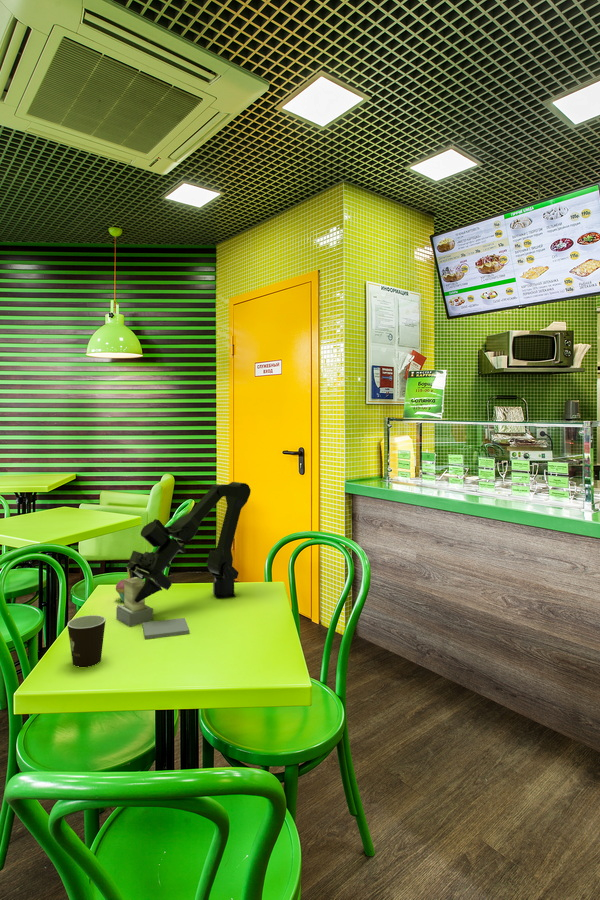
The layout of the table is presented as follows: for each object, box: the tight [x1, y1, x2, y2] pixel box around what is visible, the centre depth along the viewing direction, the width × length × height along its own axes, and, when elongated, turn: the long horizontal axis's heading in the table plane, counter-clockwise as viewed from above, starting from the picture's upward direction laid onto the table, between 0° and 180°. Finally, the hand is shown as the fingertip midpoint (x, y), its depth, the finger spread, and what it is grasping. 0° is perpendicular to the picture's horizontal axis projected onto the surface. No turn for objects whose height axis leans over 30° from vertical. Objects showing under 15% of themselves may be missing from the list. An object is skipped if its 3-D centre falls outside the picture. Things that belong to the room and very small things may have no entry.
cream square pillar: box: [123, 577, 146, 612], centre depth 155 cm, size 4×5×12 cm
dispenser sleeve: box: [115, 603, 154, 627], centre depth 155 cm, size 7×8×4 cm
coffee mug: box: [67, 614, 106, 668], centre depth 128 cm, size 12×9×10 cm
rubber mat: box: [142, 617, 190, 640], centre depth 148 cm, size 12×10×1 cm
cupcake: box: [115, 568, 130, 603], centre depth 172 cm, size 9×8×12 cm
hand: (130, 598), depth 154 cm, fingers open, 7 cm apart
